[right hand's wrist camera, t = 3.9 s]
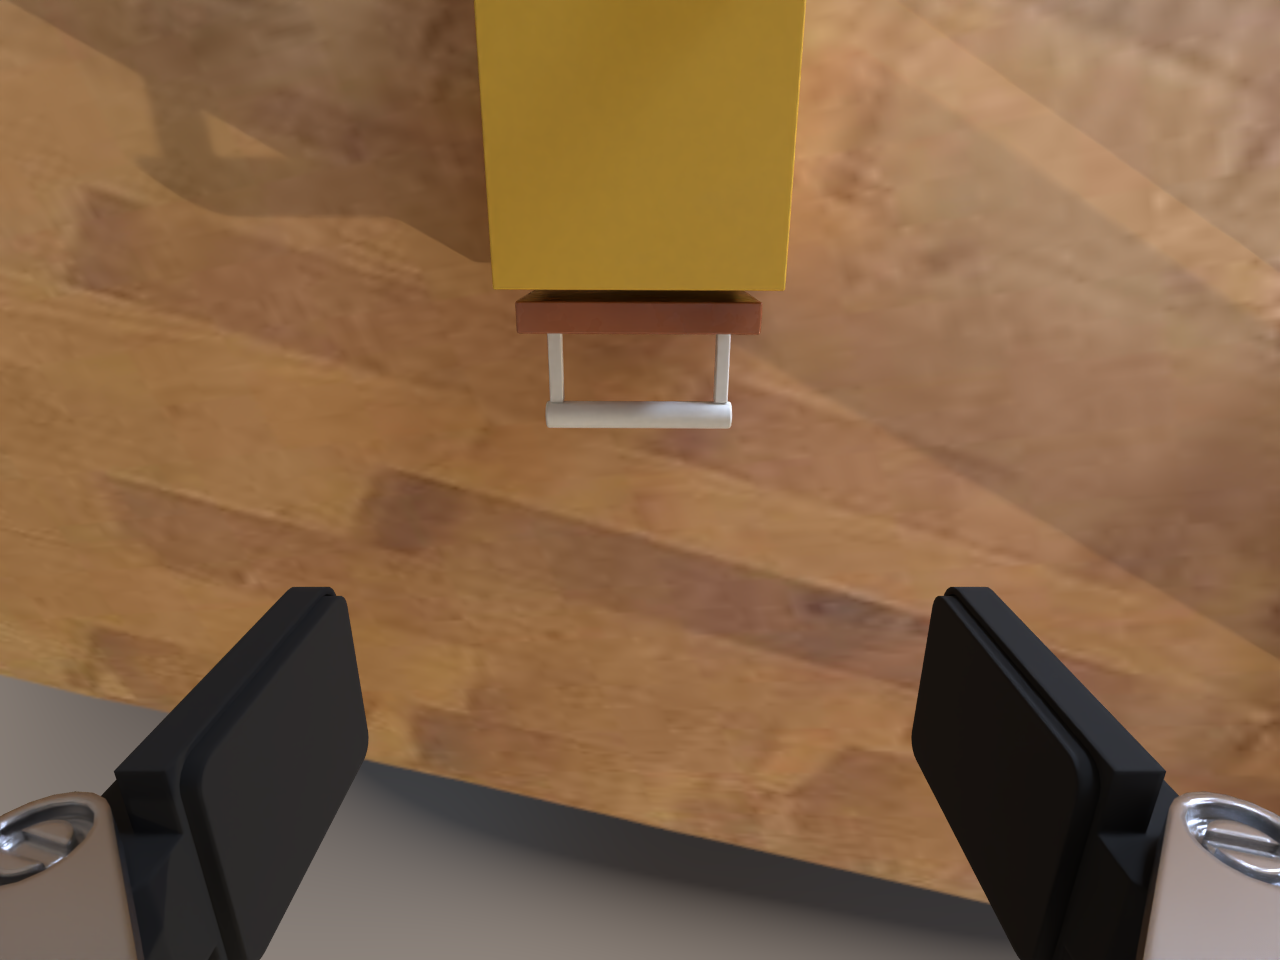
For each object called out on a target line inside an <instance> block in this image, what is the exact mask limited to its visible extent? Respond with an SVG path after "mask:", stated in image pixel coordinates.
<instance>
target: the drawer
mask: <svg viewBox="0 0 1280 960" xmlns="http://www.w3.org/2000/svg"><path fill="white" fill-rule="evenodd" d="M515 306H516V323H517V332H518V333H519V334H547V336H548V360H549V384H550V401H548V402H547V404H546V424H547V427H549V428H730V426H731V422H732V406H731V403H730V402H727V399H728V379H729V358H730V337H731V334H750V335H758V334H760V333H761V319H762V303H761V302H760V301H758V300H757V299H755V298H754V297H752V296H751V295H749V294H748V293H746V292H745V291H743V290H534V291H532V292H531V293H529V294H527V295H526V296H524V297H523V298H521V299H519V300H518V301H516V303H515ZM562 334H716V346H715V370H714V395H713V400H714V402H701V401H564V371H563V341H562Z"/></svg>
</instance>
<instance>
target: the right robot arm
mask: <svg viewBox="0 0 1280 960" xmlns="http://www.w3.org/2000/svg"><path fill="white" fill-rule="evenodd" d="M367 748H368V729H367V723H366V717H365V711H364V705H363V698H362V692H361V686H360V680H359V674H358V668H357V662H356V656H355V650H354V644H353V638H352V631H351V625H350V619H349V613H348V607H347V603H346V600H345V598H344V597H342V596H336V594H335V592H334V590H333V589H332V588H330V587H292V588H290V589H289V590H288V591H287V592H286V593H285V594H284V595H283V596H282V597H281V598H280V599H279V600H278V601H277V602H276V603H275V604H274V605H273V606H272V607H271V608H270V609H269V610H268V611H267V612H266V613H265V615H264V616H263V617H262V618H261V619H260V620H259V621H258V622H257V623H256V624H255V625H254V626H253V627H252V628H251V629H250V630H249V631H248V632H247V633H246V634H245V635H244V636H243V637H242V638H241V639H240V641H239V642H238V643H237V644H236V645H235V646H234V647H233V648H232V649H231V650H230V651H229V652H228V653H227V654H226V655H225V656H224V657H223V658H222V659H221V660H220V661H219V662H218V663H217V664H216V666H215V667H214V668H213V669H212V670H211V671H210V672H209V673H208V674H207V675H206V676H205V677H204V678H203V679H202V680H201V681H200V682H199V683H198V684H197V685H196V686H195V687H194V688H193V689H192V691H191V692H190V693H189V694H188V695H187V696H186V697H185V698H184V699H183V700H182V701H181V702H180V703H179V704H178V705H177V706H176V707H175V708H174V709H173V710H172V711H171V712H170V713H169V714H168V715H167V717H166V718H165V719H164V720H163V721H162V722H161V723H160V724H159V725H158V726H157V727H156V728H155V729H154V730H153V731H152V732H151V733H150V734H149V735H148V736H147V737H146V738H145V739H144V741H143V742H142V743H141V744H140V745H139V746H138V747H137V748H136V749H135V750H134V751H133V752H132V753H131V754H130V755H129V756H128V757H127V758H126V759H125V760H124V761H123V762H122V763H121V764H120V766H119V767H118V768H117V769H116V770H115V771H114V773H115V776H116V779H117V780H116V781H115V782H114V783H113V784H112V785H111V786H110V787H109V788H108V789H107V790H106V791H105V792H104V793H103V795H102V796H99V795H97V794H95V793H89V792H69V793H63V794H56V795H52V796H48V797H45V798H42V799H39V800H36V801H33V802H29V803H27V804H25V805H23V806H21V807H18V808H16V809H14V810H12V811H10V812H8V813H5V814H3V815H2V816H0V960H260V959H261V957H262V956H263V954H264V952H265V951H266V949H267V947H268V945H269V943H270V941H271V939H272V937H273V935H274V933H275V931H276V929H277V927H278V925H279V923H280V921H281V920H282V918H283V916H284V914H285V912H286V910H287V908H288V906H289V904H290V902H291V900H292V898H293V896H294V894H295V892H296V890H297V889H298V887H299V885H300V883H301V881H302V879H303V877H304V875H305V873H306V871H307V869H308V867H309V865H310V863H311V861H312V859H313V858H314V856H315V854H316V852H317V850H318V848H319V846H320V844H321V842H322V840H323V838H324V836H325V834H326V832H327V830H328V828H329V826H330V825H331V823H332V821H333V819H334V817H335V815H336V813H337V811H338V809H339V807H340V805H341V803H342V801H343V799H344V797H345V795H346V793H347V791H348V790H349V787H350V786H351V784H352V782H353V780H354V778H355V776H356V774H357V772H358V770H359V768H360V766H361V764H362V762H363V760H364V758H365V756H366V752H367ZM912 748H913V752H914V756H915V758H916V760H917V762H918V764H919V766H920V768H921V770H922V772H923V774H924V776H925V778H926V780H927V782H928V784H929V786H930V788H931V790H932V792H933V793H934V795H935V797H936V799H937V801H938V803H939V805H940V807H941V809H942V811H943V813H944V815H945V817H946V819H947V821H948V823H949V825H950V826H951V828H952V830H953V832H954V834H955V836H956V838H957V840H958V842H959V844H960V846H961V848H962V850H963V852H964V854H965V856H966V858H967V859H968V861H969V863H970V865H971V867H972V869H973V871H974V873H975V875H976V877H977V879H978V881H979V883H980V885H981V887H982V889H983V891H984V892H985V894H986V896H987V898H988V900H989V902H990V904H991V906H992V908H993V910H994V912H995V914H996V916H997V917H998V920H999V922H1000V924H1001V925H1002V927H1003V929H1004V931H1005V933H1006V935H1007V937H1008V939H1009V941H1010V943H1011V945H1012V947H1013V949H1014V951H1015V952H1016V954H1017V956H1018V957H1019V959H1020V960H1280V816H1278V815H1277V814H1275V813H1272V812H1270V811H1268V810H1266V809H1264V808H1262V807H1259V806H1257V805H1255V804H1253V803H1251V802H1248V801H1244V800H1241V799H1238V798H1235V797H1232V796H1228V795H1224V794H1217V793H1211V792H1191V793H1185V794H1183V795H1181V796H1178V794H1177V793H1176V792H1175V791H1174V790H1173V789H1172V788H1171V787H1170V786H1169V785H1168V784H1167V783H1166V782H1165V781H1164V780H1163V779H1164V776H1165V773H1166V771H1165V770H1164V769H1163V768H1162V767H1161V765H1160V764H1159V763H1158V762H1157V761H1156V760H1155V759H1154V758H1153V757H1152V756H1151V755H1150V754H1149V753H1148V752H1147V751H1146V750H1145V749H1144V748H1143V747H1142V746H1141V745H1140V744H1139V743H1138V742H1137V740H1136V739H1135V738H1134V737H1133V736H1132V735H1131V734H1130V733H1129V732H1128V731H1127V730H1126V729H1125V728H1124V727H1123V726H1122V725H1121V724H1120V723H1119V722H1118V721H1117V720H1116V719H1115V718H1114V717H1113V715H1112V714H1111V713H1110V712H1109V711H1108V710H1107V709H1106V708H1105V707H1104V706H1103V705H1102V704H1101V703H1100V702H1099V701H1098V700H1097V699H1096V698H1095V697H1094V696H1093V695H1092V694H1091V693H1090V692H1089V691H1088V689H1087V688H1086V687H1085V686H1084V685H1083V684H1082V683H1081V682H1080V681H1079V680H1078V679H1077V678H1076V677H1075V676H1074V675H1073V674H1072V673H1071V672H1070V671H1069V670H1068V669H1067V668H1066V667H1065V666H1064V664H1063V663H1062V662H1061V661H1060V660H1059V659H1058V658H1057V657H1056V656H1055V655H1054V654H1053V653H1052V652H1051V651H1050V650H1049V649H1048V648H1047V647H1046V646H1045V645H1044V644H1043V643H1042V642H1041V641H1040V639H1039V638H1038V637H1037V636H1036V635H1035V634H1034V633H1033V632H1032V631H1031V630H1030V629H1029V628H1028V627H1027V626H1026V625H1025V624H1024V623H1023V622H1022V621H1021V620H1020V619H1019V618H1018V617H1017V616H1016V615H1015V613H1014V612H1013V611H1012V610H1011V609H1010V608H1009V607H1008V606H1007V605H1006V604H1005V603H1004V602H1003V601H1002V600H1001V599H1000V598H999V597H998V596H997V595H996V594H995V593H994V592H993V591H992V590H991V589H990V588H988V587H950V588H948V589H947V590H946V592H945V594H944V596H938V597H936V598H935V600H934V603H933V607H932V613H931V619H930V625H929V631H928V638H927V644H926V650H925V656H924V662H923V668H922V674H921V680H920V686H919V692H918V698H917V705H916V711H915V717H914V723H913V729H912Z"/></svg>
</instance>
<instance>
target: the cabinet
mask: <svg viewBox="0 0 1280 960" xmlns="http://www.w3.org/2000/svg"><path fill="white" fill-rule="evenodd" d="M805 9H806V0H474V13H475V28H476V43H477V58H478V73H479V88H480V103H481V118H482V133H483V148H484V163H485V178H486V193H487V208H488V223H489V238H490V253H491V268H492V283H493V289H510V290H744V291H783V290H785V282H786V268H787V254H788V241H789V227H790V213H791V200H792V186H793V172H794V159H795V145H796V131H797V118H798V104H799V90H800V77H801V63H802V50H803V36H804V22H805Z"/></svg>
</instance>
